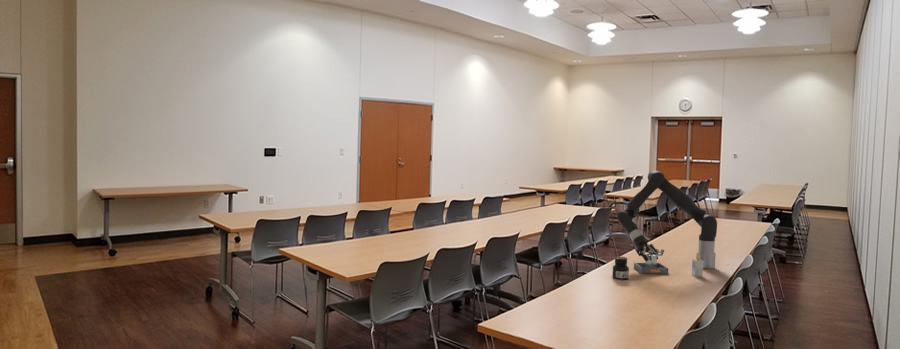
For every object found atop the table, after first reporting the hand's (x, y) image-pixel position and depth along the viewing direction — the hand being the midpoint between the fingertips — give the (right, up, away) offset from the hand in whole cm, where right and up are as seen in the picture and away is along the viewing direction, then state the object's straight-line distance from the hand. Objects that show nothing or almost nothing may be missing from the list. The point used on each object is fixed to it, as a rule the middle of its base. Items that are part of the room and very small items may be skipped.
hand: (652, 259), depth 345 cm
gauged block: (+24, -8, -9) cm, 26 cm away
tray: (-1, -7, +1) cm, 7 cm away
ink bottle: (-24, -8, -17) cm, 31 cm away
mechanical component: (+8, -6, +18) cm, 21 cm away
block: (-1, -6, +1) cm, 7 cm away
